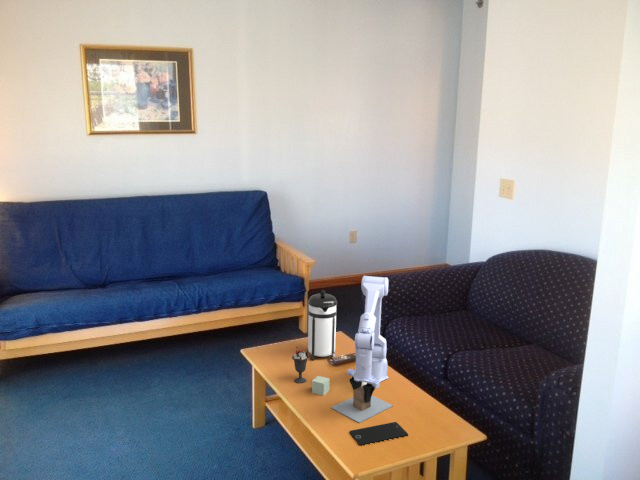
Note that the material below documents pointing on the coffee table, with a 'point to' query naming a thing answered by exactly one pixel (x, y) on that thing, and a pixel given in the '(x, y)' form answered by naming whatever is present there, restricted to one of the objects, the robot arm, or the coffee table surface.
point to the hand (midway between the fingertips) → (362, 399)
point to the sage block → (320, 385)
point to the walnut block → (360, 399)
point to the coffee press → (322, 325)
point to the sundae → (300, 364)
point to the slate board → (358, 415)
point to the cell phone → (378, 433)
